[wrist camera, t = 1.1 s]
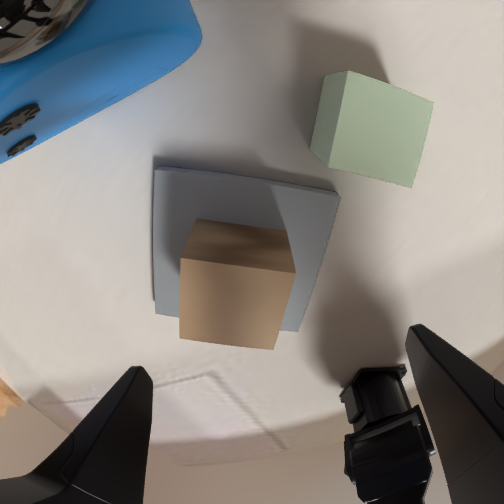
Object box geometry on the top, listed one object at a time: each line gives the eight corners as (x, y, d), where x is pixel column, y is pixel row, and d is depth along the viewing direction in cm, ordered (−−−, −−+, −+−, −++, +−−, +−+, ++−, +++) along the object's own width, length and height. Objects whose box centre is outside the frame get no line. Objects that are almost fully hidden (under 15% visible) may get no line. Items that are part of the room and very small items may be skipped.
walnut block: (286, 231, 20) (296, 273, 15) (269, 301, 23) (273, 349, 18) (196, 218, 19) (180, 257, 15) (191, 290, 22) (179, 338, 18)
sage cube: (394, 97, 16) (433, 102, 12) (377, 165, 18) (411, 188, 14) (324, 76, 16) (348, 70, 11) (309, 149, 18) (327, 167, 14)
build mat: (336, 192, 19) (340, 197, 18) (296, 323, 25) (297, 331, 24) (159, 166, 18) (154, 169, 18) (158, 306, 24) (155, 313, 23)
